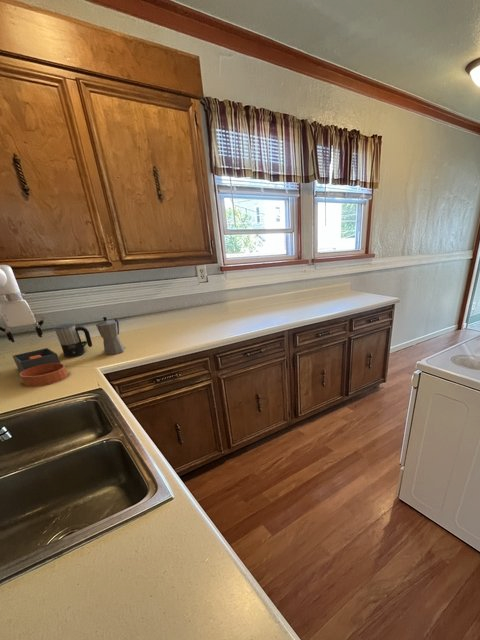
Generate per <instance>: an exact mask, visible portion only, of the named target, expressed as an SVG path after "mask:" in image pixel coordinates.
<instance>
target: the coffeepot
mask: <svg viewBox="0 0 480 640" xmlns="http://www.w3.org/2000/svg"><path fill="white" fill-rule="evenodd" d="M107 318H108V317H106V316H103V317H102V319H103V321H100V322H97V323H96V324H95V326H96V329H97V331H98V333H99V335H100V337H101V338H102V339H103V341H102V342H103V350H104V351H103V352H104V354H105V355H108V356H113V355H118V354H123V353H124V352H125V348H124V346H123V344H122V341H121V340H120V338H119V335H120V324H119V320H118V319H117V318H112V319H110V320H108V319H107Z"/></svg>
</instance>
